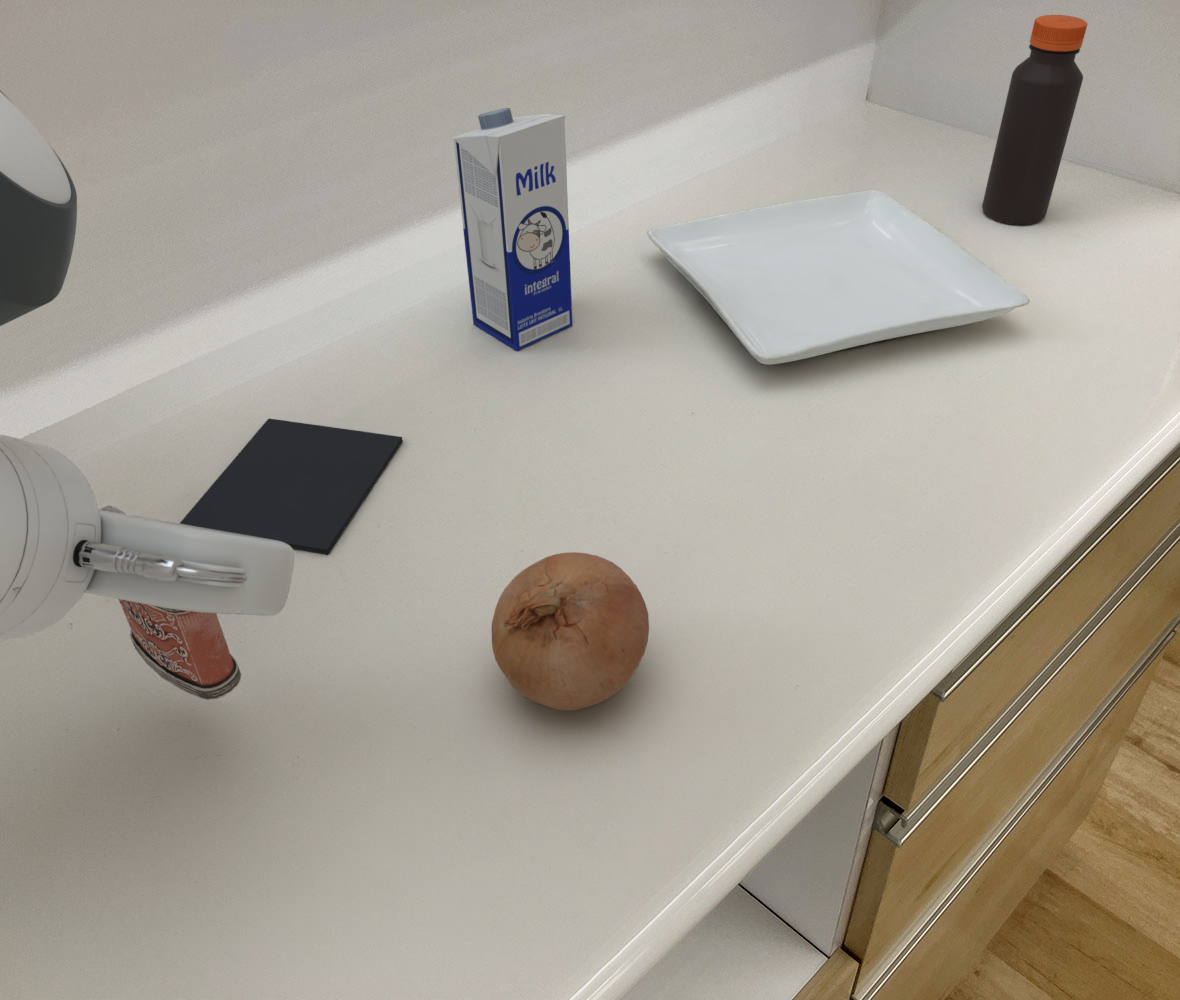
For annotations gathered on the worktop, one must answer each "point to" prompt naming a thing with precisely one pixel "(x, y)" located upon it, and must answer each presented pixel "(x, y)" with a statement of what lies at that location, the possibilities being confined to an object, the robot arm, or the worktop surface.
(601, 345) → the worktop surface
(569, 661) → the onion
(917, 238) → the square plate
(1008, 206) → the bottle
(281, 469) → the mat
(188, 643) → the lighter
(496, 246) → the milk carton
